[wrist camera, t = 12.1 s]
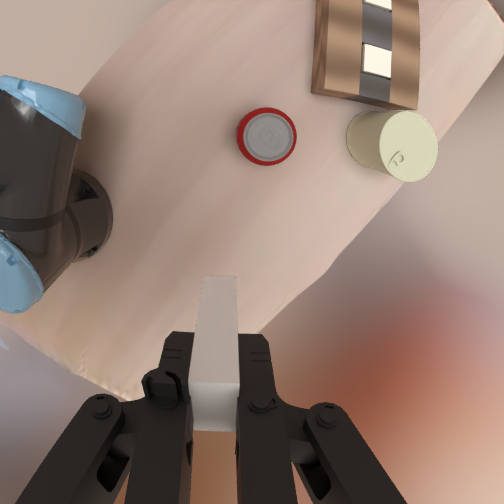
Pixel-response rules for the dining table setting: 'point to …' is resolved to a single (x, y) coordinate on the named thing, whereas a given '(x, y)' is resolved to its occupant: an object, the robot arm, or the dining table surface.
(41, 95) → the robot arm
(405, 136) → the can
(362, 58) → the peg
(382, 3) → the peg
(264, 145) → the beverage can
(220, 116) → the dining table surface
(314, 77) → the socket block
